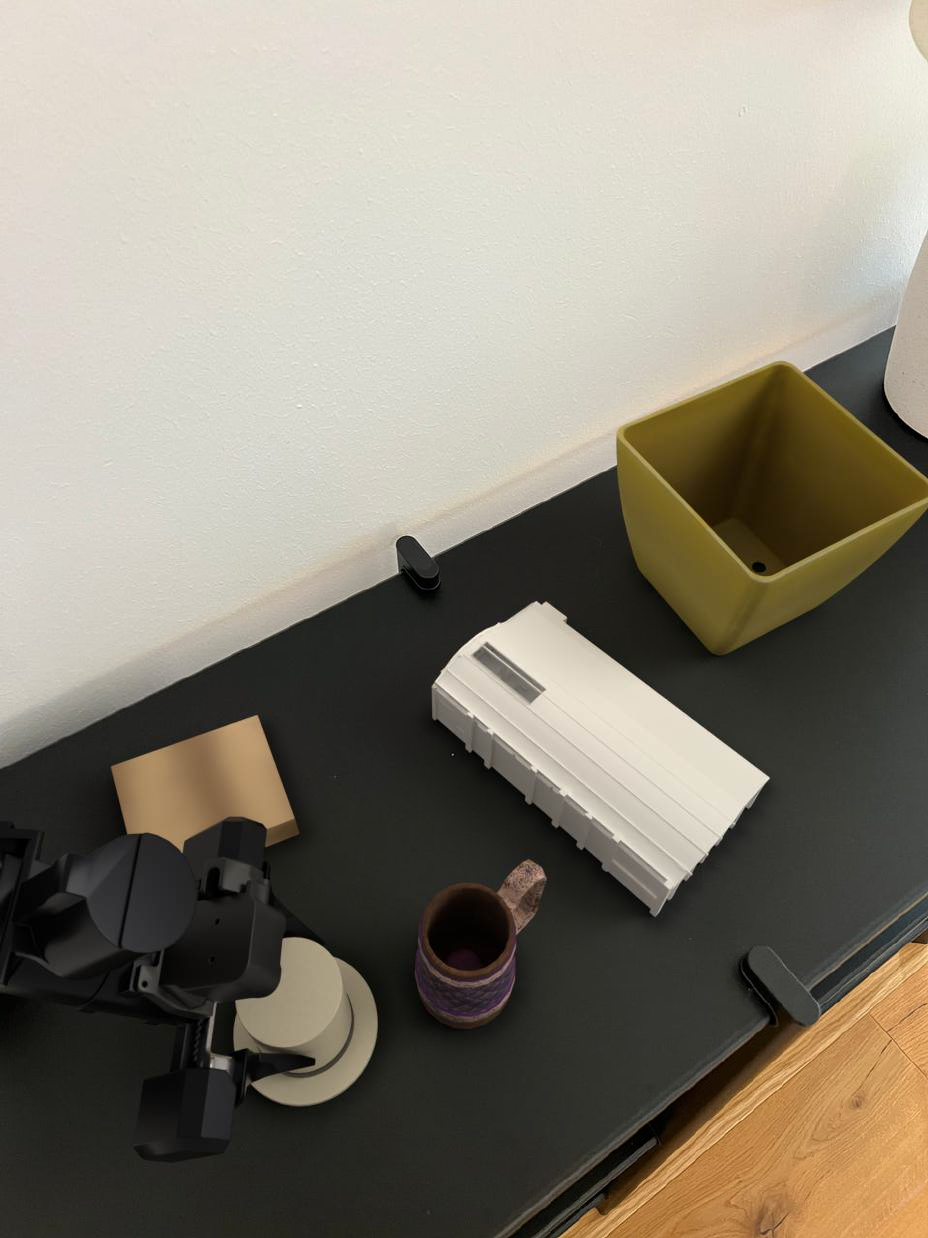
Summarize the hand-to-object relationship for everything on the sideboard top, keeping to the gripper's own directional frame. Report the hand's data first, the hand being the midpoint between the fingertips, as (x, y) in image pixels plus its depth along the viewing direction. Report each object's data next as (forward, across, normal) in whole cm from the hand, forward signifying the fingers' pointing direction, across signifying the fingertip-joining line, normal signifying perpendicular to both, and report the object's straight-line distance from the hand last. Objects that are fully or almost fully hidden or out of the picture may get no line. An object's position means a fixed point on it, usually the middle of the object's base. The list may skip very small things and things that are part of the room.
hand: (316, 1003), depth 61 cm
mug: (+13, +4, -3) cm, 14 cm away
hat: (+4, 0, +6) cm, 7 cm away
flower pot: (+30, +39, -20) cm, 53 cm away
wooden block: (-3, +17, +12) cm, 21 cm away
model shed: (+20, +21, -10) cm, 31 cm away
